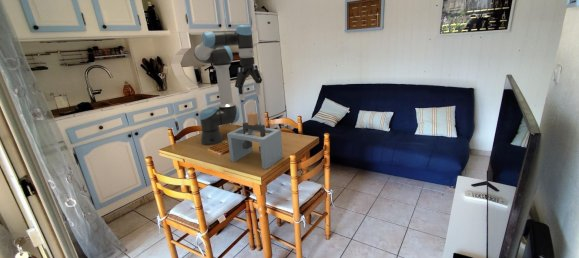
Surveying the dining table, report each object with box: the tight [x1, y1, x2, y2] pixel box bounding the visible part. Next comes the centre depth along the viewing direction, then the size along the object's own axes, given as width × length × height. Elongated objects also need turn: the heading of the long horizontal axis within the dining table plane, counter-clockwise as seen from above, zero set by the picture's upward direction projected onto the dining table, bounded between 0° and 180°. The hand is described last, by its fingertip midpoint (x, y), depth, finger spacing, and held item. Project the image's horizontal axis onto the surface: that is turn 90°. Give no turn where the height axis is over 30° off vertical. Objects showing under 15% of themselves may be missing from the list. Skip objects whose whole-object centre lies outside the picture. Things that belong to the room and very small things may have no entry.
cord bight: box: [242, 112, 266, 153], centre depth 154 cm, size 15×5×21 cm, turn 60°
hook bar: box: [245, 130, 260, 136], centre depth 154 cm, size 2×13×2 cm, turn 149°
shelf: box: [226, 126, 284, 170], centre depth 157 cm, size 25×17×17 cm
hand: (250, 97), depth 148 cm, fingers open, 13 cm apart
